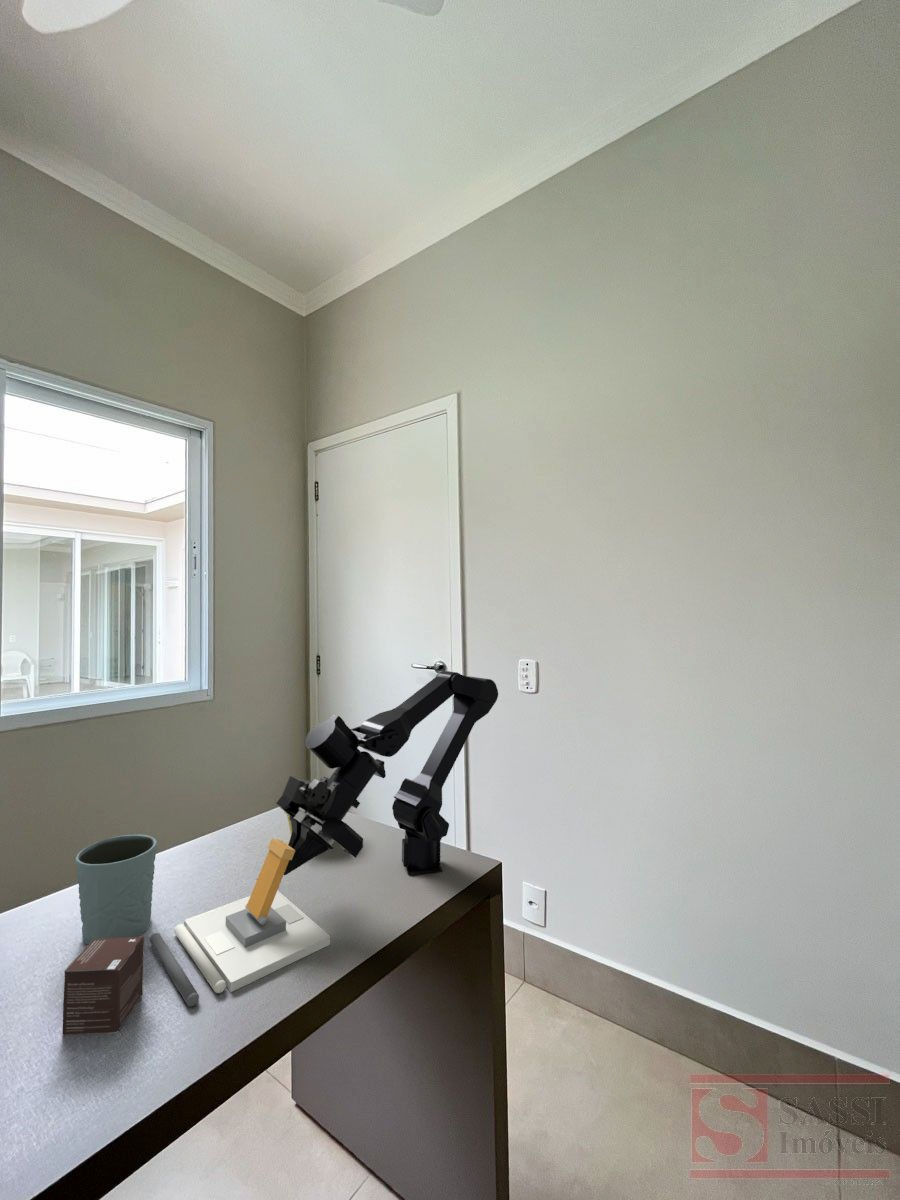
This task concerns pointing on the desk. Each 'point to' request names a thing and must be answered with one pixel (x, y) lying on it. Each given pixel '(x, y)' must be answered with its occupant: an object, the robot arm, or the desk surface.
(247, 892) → the desk surface
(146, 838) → the grey-green cup
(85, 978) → the box
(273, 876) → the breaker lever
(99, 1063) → the desk surface
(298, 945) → the breaker panel
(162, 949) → the rods
